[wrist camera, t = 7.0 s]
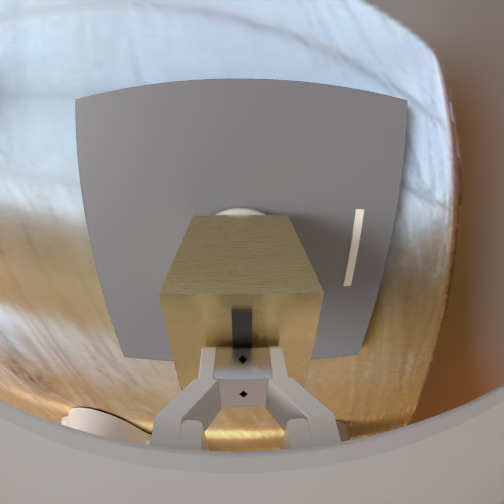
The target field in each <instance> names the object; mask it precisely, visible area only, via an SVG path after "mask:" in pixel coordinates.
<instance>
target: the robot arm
mask: <svg viewBox="0 0 504 504" xmlns="http://www.w3.org/2000/svg"><path fill="white" fill-rule="evenodd" d="M235 407H266V409H267V410H268V411H269V412H270V414H271V415H272V416H273V417H274V419H275V420H276V421H277V422H278V423H279V425H280V426H281V427H282V428H283V429H284V430H285V434H284V438H283V442H282V446H281V449H280V450H264V451H209V447H208V444H207V440H206V436H205V430H206V429H207V428H208V426H209V425H210V424H211V422H212V421H213V420H214V418H215V417H216V416H217V414H218V413H219V412H220V410H221V408H235ZM61 423H62V425H61V424H58V423H55V422H52V421H50V420H47V419H44V418H41V417H39V416H36V415H34V414H31V413H29V412H26V411H24V410H21V409H19V408H17V407H14V406H12V405H10V404H8V403H6V402H4V401H2V400H0V504H504V385H502V386H500V387H498V388H496V389H494V390H493V391H491V392H489V393H487V394H485V395H483V396H481V397H479V398H476V399H474V400H472V401H470V402H468V403H466V404H463V405H461V406H459V407H456V408H454V409H452V410H449V411H447V412H444V413H442V414H439V415H436V416H434V417H431V418H428V419H425V420H422V421H420V422H417V423H413V424H410V425H407V426H404V427H401V428H397V429H394V430H390V431H386V432H383V433H379V434H375V435H371V436H366V437H362V438H357V439H352V440H347V441H342V442H341V439H340V436H339V432H338V428H337V424H336V421H335V417H334V414H333V413H332V412H331V411H330V410H329V409H327V408H326V407H325V406H324V405H323V404H322V403H320V402H319V401H318V400H317V399H316V398H315V397H314V396H312V395H311V394H310V393H309V392H308V391H307V390H306V389H304V388H303V387H302V386H301V385H300V384H299V383H298V382H297V381H296V380H294V379H293V378H288V373H287V367H286V362H285V356H284V351H283V347H282V346H269V347H203V348H202V352H201V360H200V368H199V376H198V379H194V380H193V381H192V382H191V383H190V384H189V385H187V386H186V387H185V388H184V389H183V390H182V391H181V392H180V393H179V394H178V395H177V396H176V397H175V398H174V399H173V400H172V401H171V402H170V403H169V404H168V405H167V406H166V407H165V408H164V409H162V410H161V411H160V412H159V413H158V414H157V415H156V416H155V421H154V426H153V431H152V435H150V434H148V433H145V432H144V431H142V430H140V429H138V428H137V427H135V426H133V425H132V424H130V423H128V422H126V421H124V420H122V419H119V418H117V417H115V416H112V415H109V414H107V413H104V412H101V411H97V410H93V409H88V408H73V409H71V410H70V411H69V414H68V416H65V417H63V418H62V421H61Z"/></svg>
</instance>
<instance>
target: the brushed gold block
mask: <svg viewBox="0 0 504 504" xmlns="http://www.w3.org/2000/svg"><path fill="white" fill-rule="evenodd" d="M159 294H160V300H161V305H162V310H163V315H164V320H165V325H166V329H167V334H168V338H169V343H170V347H171V351H172V355H173V359H174V364H175V367H176V371H177V375H178V379H179V383H180V386H181V390H183V389H184V388H185V387H186V386H187V385H189V384H190V383H191V382H192V381H193V380H194V379H198V376H199V368H200V360H201V352H202V348H203V347H269V346H282V347H283V351H284V356H285V362H286V367H287V373H288V378H293V379H294V380H296V381H297V382H298V383H299V384H300V385H301V386H302V387H303V388H304V386H305V381H306V377H307V373H308V369H309V364H310V360H311V356H312V351H313V346H314V342H315V337H316V332H317V327H318V322H319V317H320V312H321V306H322V301H323V295H324V291H323V289H322V287H321V285H320V282H319V280H318V278H317V276H316V274H315V272H314V269H313V267H312V265H311V263H310V261H309V259H308V257H307V254H306V252H305V250H304V248H303V246H302V244H301V242H300V240H299V238H298V236H297V234H296V232H295V230H294V228H293V225H292V223H291V221H290V219H289V217H288V215H203V216H193V218H192V220H191V222H190V224H189V226H188V228H187V231H186V233H185V235H184V237H183V239H182V242H181V244H180V246H179V248H178V251H177V253H176V255H175V257H174V260H173V262H172V264H171V267H170V269H169V271H168V274H167V276H166V278H165V281H164V283H163V286H162V288H161V291H160V293H159Z"/></svg>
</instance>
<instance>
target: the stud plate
mask: <svg viewBox="0 0 504 504" xmlns="http://www.w3.org/2000/svg"><path fill="white" fill-rule="evenodd" d="M75 114H76V140H77V154H78V165H79V175H80V183H81V191H82V198H83V205H84V211H85V217H86V223H87V228H88V233H89V238H90V243H91V248H92V252H93V256H94V261H95V265H96V269H97V273H98V277H99V281H100V284H101V288H102V291H103V295H104V298H105V302H106V305H107V308H108V312H109V315H110V318H111V321H112V324H113V327H114V330H115V333H116V336H117V338H118V341H119V344H120V347H121V349H122V352H123V355H124V357H129V358H139V359H151V360H164V361H174V359H173V355H172V351H171V347H170V343H169V338H168V334H167V329H166V325H165V320H164V315H163V310H162V305H161V300H160V294H159V293H160V291H161V288H162V286H163V283H164V281H165V278H166V276H167V274H168V271H169V269H170V267H171V264H172V262H173V260H174V257H175V255H176V253H177V251H178V248H179V246H180V244H181V242H182V239H183V237H184V235H185V233H186V231H187V228H188V226H189V224H190V222H191V220H192V218H193V216H203V215H288V217H289V219H290V221H291V223H292V225H293V228H294V230H295V232H296V234H297V236H298V238H299V240H300V242H301V244H302V246H303V248H304V250H305V252H306V254H307V257H308V259H309V261H310V263H311V265H312V267H313V269H314V272H315V274H316V276H317V278H318V280H319V282H320V285H321V287H322V289H323V291H324V295H323V301H322V306H321V312H320V317H319V322H318V327H317V332H316V337H315V342H314V346H313V351H312V356H311V360H313V359H325V358H335V357H344V356H353V355H359V352H360V349H361V346H362V343H363V340H364V337H365V334H366V331H367V328H368V325H369V322H370V319H371V316H372V312H373V309H374V306H375V302H376V299H377V295H378V291H379V288H380V284H381V280H382V276H383V272H384V268H385V264H386V260H387V256H388V251H389V247H390V242H391V237H392V232H393V227H394V222H395V216H396V211H397V205H398V198H399V192H400V185H401V178H402V169H403V161H404V151H405V139H406V125H407V100H404V99H400V98H396V97H392V96H387V95H383V94H379V93H374V92H369V91H364V90H359V89H353V88H347V87H341V86H334V85H327V84H319V83H311V82H301V81H289V80H273V79H205V80H189V81H177V82H167V83H159V84H151V85H144V86H137V87H131V88H125V89H120V90H115V91H110V92H105V93H100V94H96V95H91V96H87V97H83V98H79V99H76V100H75Z"/></svg>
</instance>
